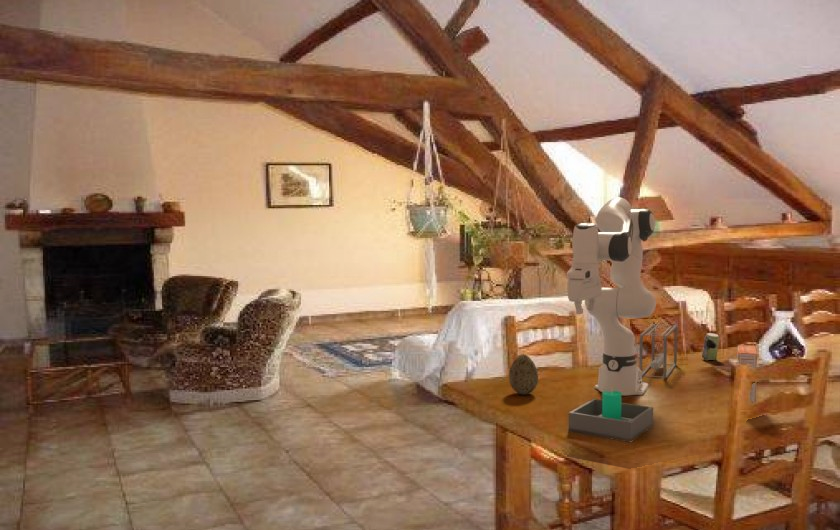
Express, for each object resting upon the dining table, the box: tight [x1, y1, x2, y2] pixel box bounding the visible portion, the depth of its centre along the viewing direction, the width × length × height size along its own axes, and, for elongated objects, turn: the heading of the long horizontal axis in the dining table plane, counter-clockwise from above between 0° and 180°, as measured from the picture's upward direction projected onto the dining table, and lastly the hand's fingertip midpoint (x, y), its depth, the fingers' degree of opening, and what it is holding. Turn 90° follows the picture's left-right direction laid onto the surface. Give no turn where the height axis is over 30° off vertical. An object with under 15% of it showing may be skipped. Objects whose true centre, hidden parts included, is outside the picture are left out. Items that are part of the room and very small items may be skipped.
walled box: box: [568, 398, 654, 442], centre depth 243 cm, size 20×20×6 cm
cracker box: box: [736, 344, 758, 403], centre depth 263 cm, size 14×6×21 cm, turn 159°
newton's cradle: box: [638, 323, 678, 380], centre depth 321 cm, size 30×10×18 cm, turn 154°
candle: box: [601, 391, 622, 420], centre depth 243 cm, size 6×6×12 cm
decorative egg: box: [508, 353, 539, 396], centre depth 286 cm, size 11×11×15 cm
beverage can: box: [701, 332, 720, 361], centre depth 341 cm, size 6×7×12 cm
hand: (585, 312), depth 261 cm, fingers open, 8 cm apart
